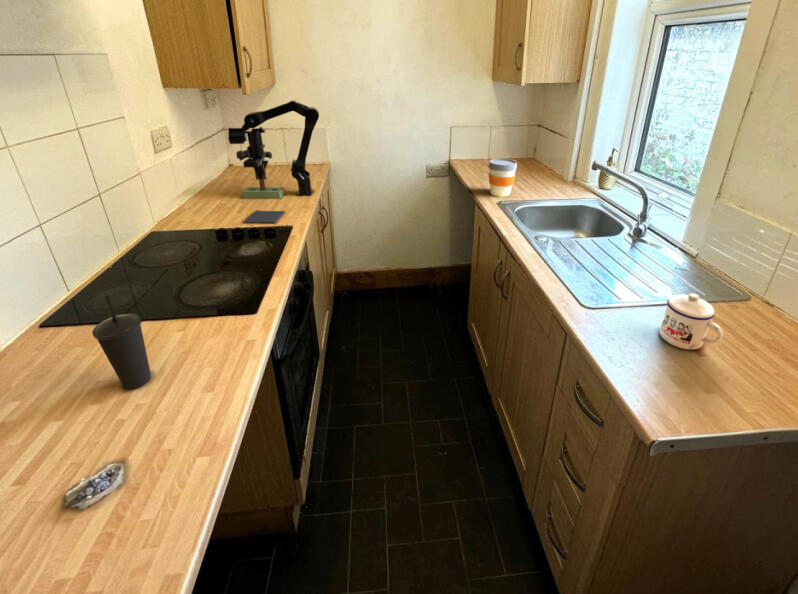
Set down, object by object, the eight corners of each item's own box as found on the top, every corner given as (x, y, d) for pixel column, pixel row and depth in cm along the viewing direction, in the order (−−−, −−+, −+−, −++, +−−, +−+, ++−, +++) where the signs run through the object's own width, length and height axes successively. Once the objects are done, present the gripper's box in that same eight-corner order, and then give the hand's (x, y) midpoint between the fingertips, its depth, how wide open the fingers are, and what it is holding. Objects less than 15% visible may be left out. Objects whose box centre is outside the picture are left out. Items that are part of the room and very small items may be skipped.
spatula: (260, 194, 191) (255, 167, 186) (269, 194, 191) (265, 167, 186) (258, 195, 189) (253, 168, 184) (267, 195, 189) (263, 169, 184)
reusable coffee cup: (519, 194, 192) (523, 162, 186) (500, 199, 186) (503, 166, 180) (500, 187, 202) (502, 157, 195) (481, 192, 195) (483, 160, 189)
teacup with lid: (649, 333, 98) (662, 291, 93) (672, 322, 102) (685, 280, 97) (703, 364, 88) (720, 318, 83) (725, 349, 92) (742, 305, 88)
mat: (255, 212, 171) (255, 210, 171) (284, 212, 171) (284, 211, 171) (244, 223, 160) (243, 221, 160) (275, 223, 160) (274, 221, 160)
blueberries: (54, 506, 61) (49, 498, 60) (102, 458, 68) (98, 450, 67) (92, 516, 59) (88, 508, 58) (137, 466, 66) (134, 458, 66)
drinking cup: (110, 400, 79) (74, 312, 71) (118, 374, 85) (86, 290, 77) (156, 388, 82) (127, 302, 74) (161, 363, 88) (134, 282, 80)
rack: (248, 193, 194) (247, 187, 192) (284, 193, 193) (284, 187, 192) (242, 198, 187) (241, 191, 186) (280, 198, 187) (279, 192, 186)
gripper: (245, 139, 189) (251, 172, 196) (228, 147, 172) (234, 184, 179) (270, 139, 189) (274, 172, 195) (254, 147, 172) (260, 184, 178)
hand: (261, 178), depth 187 cm, fingers closed on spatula, 1 cm apart
